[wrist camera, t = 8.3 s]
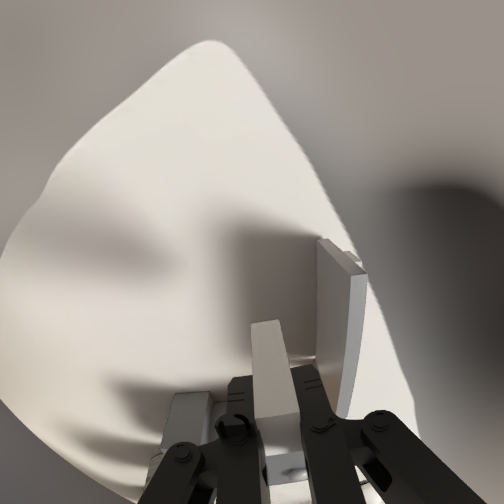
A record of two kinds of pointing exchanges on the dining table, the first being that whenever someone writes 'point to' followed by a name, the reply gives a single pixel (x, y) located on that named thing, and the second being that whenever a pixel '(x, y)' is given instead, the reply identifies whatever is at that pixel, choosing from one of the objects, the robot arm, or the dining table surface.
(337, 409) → the door
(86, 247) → the dining table surface
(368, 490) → the flower in vase
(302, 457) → the housing
